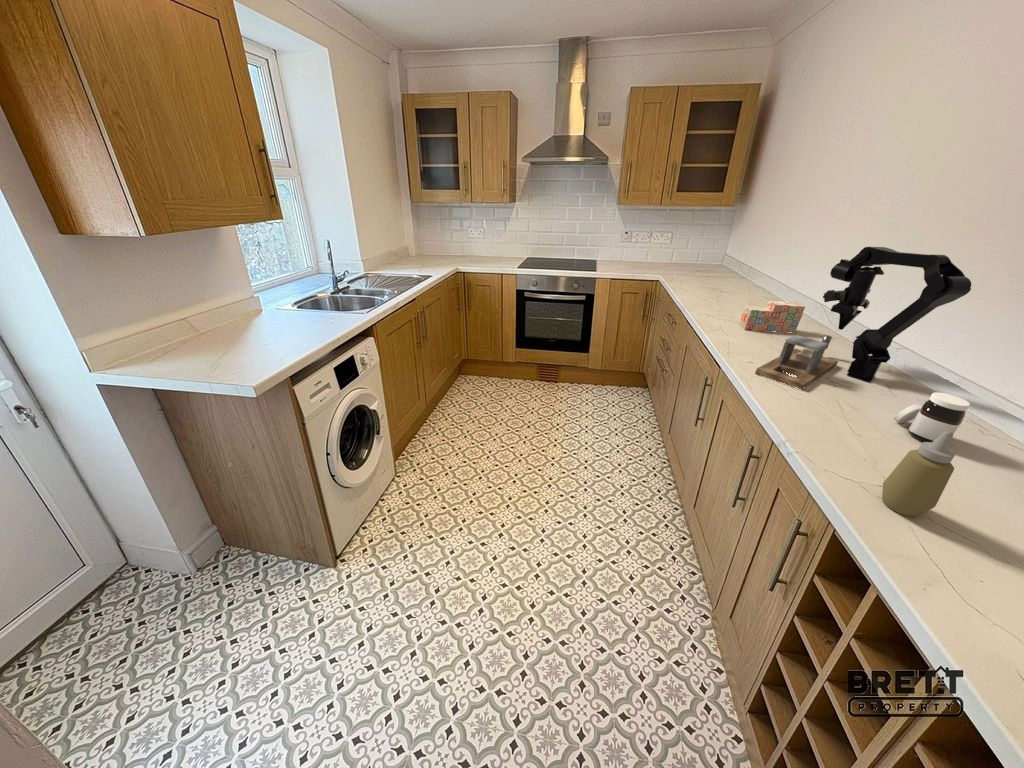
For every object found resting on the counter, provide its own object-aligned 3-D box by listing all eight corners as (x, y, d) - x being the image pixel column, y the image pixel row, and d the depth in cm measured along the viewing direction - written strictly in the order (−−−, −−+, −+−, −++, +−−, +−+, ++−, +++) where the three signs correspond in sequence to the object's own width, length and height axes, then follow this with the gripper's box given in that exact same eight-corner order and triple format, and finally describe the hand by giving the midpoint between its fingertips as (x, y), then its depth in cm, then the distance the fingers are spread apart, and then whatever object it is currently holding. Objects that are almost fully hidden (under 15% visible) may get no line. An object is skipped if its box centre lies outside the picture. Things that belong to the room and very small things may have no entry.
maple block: (815, 360, 143) (820, 350, 141) (811, 362, 141) (816, 352, 139) (803, 356, 146) (807, 346, 144) (799, 359, 143) (803, 348, 142)
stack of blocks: (744, 330, 176) (753, 302, 170) (738, 325, 181) (746, 298, 176) (795, 334, 174) (805, 306, 169) (787, 329, 180) (797, 302, 174)
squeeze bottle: (901, 492, 85) (947, 420, 76) (938, 522, 78) (994, 446, 69) (864, 492, 84) (907, 420, 76) (898, 522, 77) (950, 445, 69)
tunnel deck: (835, 366, 144) (849, 337, 139) (801, 390, 126) (814, 358, 121) (793, 353, 154) (804, 325, 148) (754, 373, 135) (765, 343, 130)
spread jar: (943, 452, 99) (970, 411, 94) (885, 431, 107) (907, 392, 101) (950, 435, 106) (975, 397, 100) (895, 416, 113) (916, 380, 108)
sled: (832, 352, 150) (839, 338, 147) (814, 364, 139) (821, 348, 137) (813, 347, 154) (819, 333, 151) (795, 357, 144) (801, 342, 141)
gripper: (841, 277, 147) (823, 318, 154) (822, 283, 136) (805, 327, 144) (878, 284, 139) (858, 327, 147) (862, 291, 129) (842, 336, 136)
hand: (840, 329), depth 143 cm, fingers closed
